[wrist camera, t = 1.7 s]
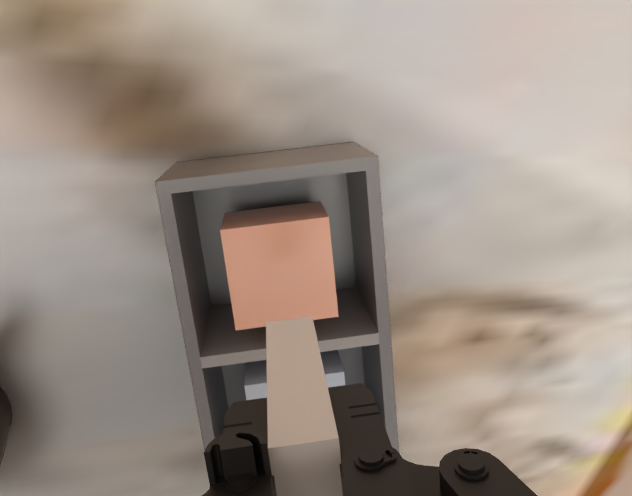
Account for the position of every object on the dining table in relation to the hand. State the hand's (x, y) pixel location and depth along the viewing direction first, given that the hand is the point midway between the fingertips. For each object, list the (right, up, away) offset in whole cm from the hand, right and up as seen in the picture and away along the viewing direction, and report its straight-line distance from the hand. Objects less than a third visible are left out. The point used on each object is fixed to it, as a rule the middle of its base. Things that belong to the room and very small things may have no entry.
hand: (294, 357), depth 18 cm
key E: (-1, +3, +12) cm, 12 cm away
